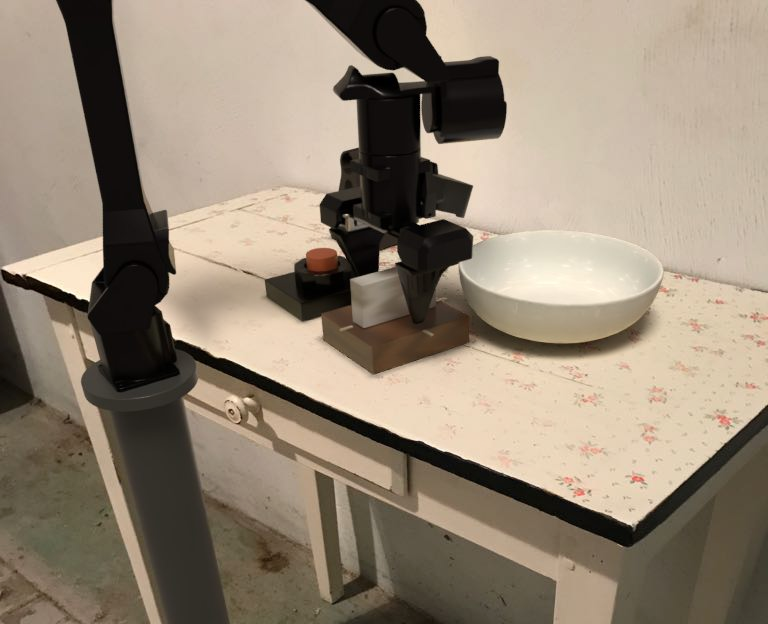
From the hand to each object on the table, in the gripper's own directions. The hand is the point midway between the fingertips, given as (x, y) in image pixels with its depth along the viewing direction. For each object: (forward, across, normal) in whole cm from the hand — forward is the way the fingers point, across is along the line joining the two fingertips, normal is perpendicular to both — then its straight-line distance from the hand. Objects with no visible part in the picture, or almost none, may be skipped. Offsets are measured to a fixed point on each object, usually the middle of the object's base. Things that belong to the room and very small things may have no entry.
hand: (394, 309), depth 85 cm
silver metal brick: (+1, 0, 0) cm, 1 cm away
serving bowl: (+4, -7, -16) cm, 18 cm away
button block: (+4, +15, 0) cm, 15 cm away
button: (0, +15, 0) cm, 15 cm away
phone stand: (+4, +29, -15) cm, 33 cm away
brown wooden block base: (+4, 0, 0) cm, 4 cm away
